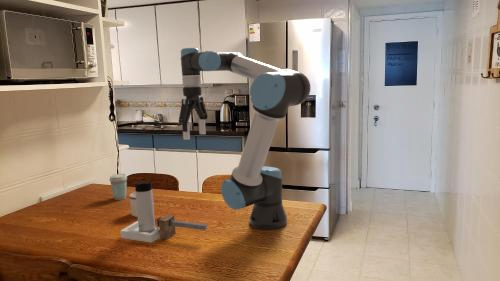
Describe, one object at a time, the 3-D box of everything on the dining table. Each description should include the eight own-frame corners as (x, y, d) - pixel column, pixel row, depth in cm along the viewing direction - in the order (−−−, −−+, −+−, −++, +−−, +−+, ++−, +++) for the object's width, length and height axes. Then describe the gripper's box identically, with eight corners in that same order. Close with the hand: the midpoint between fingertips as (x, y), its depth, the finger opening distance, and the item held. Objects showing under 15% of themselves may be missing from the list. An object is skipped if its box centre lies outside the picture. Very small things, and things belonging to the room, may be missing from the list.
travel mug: (138, 235, 148) (134, 184, 144) (138, 228, 154) (134, 180, 151) (155, 232, 149) (151, 182, 146) (155, 226, 156) (151, 178, 152)
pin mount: (175, 233, 151) (174, 215, 149) (167, 239, 145) (165, 220, 144) (168, 232, 152) (167, 214, 150) (160, 238, 146) (158, 219, 145)
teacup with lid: (140, 218, 168) (138, 192, 166) (126, 215, 173) (124, 190, 171) (160, 210, 178) (158, 185, 176) (147, 207, 183) (145, 183, 181)
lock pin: (208, 230, 143) (208, 220, 143) (204, 233, 140) (203, 224, 139) (160, 223, 151) (160, 215, 150) (155, 227, 148) (154, 218, 147)
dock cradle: (172, 228, 156) (172, 221, 155) (151, 242, 143) (151, 235, 142) (143, 224, 161) (143, 217, 160) (121, 238, 148) (120, 230, 148)
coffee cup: (111, 197, 200) (109, 174, 198) (129, 195, 202) (126, 172, 200) (111, 202, 192) (108, 178, 190) (129, 199, 194) (126, 176, 192)
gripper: (198, 85, 174) (201, 132, 177) (167, 87, 151) (171, 141, 154) (213, 84, 171) (216, 132, 174) (184, 87, 148) (187, 142, 152)
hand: (194, 136), depth 164 cm, fingers open, 13 cm apart
